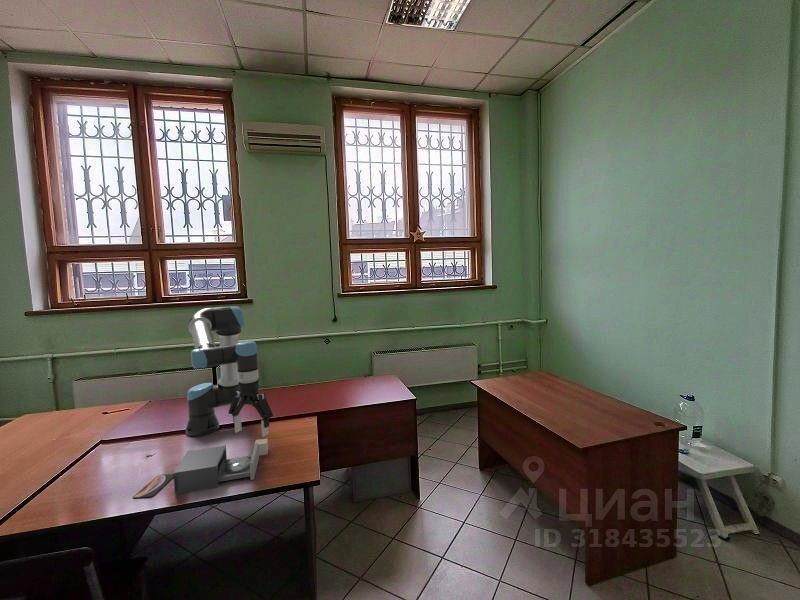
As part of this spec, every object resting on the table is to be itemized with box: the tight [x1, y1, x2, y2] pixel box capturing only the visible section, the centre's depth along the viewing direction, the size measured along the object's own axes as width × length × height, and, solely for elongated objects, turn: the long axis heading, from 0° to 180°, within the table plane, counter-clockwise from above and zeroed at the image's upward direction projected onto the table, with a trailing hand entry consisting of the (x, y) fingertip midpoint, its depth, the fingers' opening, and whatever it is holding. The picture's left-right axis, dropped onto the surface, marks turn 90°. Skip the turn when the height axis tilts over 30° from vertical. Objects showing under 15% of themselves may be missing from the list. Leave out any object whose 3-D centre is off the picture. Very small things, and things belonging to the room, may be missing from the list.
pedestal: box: [253, 438, 269, 457], centre depth 155 cm, size 5×5×5 cm
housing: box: [172, 444, 228, 495], centre depth 136 cm, size 17×14×8 cm
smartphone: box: [132, 473, 174, 500], centre depth 132 cm, size 8×1×15 cm
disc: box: [225, 456, 250, 473], centre depth 140 cm, size 9×9×2 cm
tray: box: [218, 443, 260, 483], centre depth 139 cm, size 17×14×7 cm
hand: (251, 433), depth 140 cm, fingers open, 13 cm apart
